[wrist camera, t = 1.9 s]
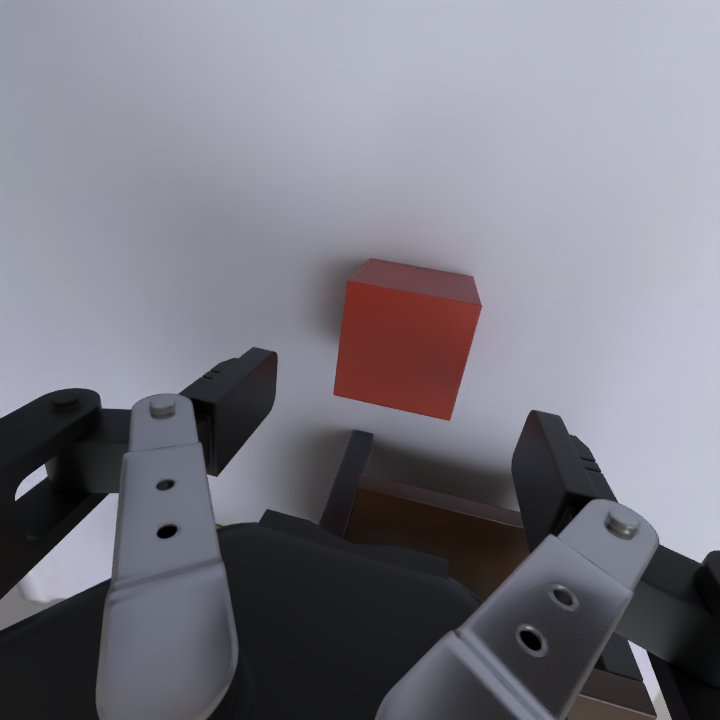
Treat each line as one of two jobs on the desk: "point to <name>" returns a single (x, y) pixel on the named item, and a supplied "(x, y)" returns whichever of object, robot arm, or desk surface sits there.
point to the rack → (468, 561)
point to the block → (406, 337)
